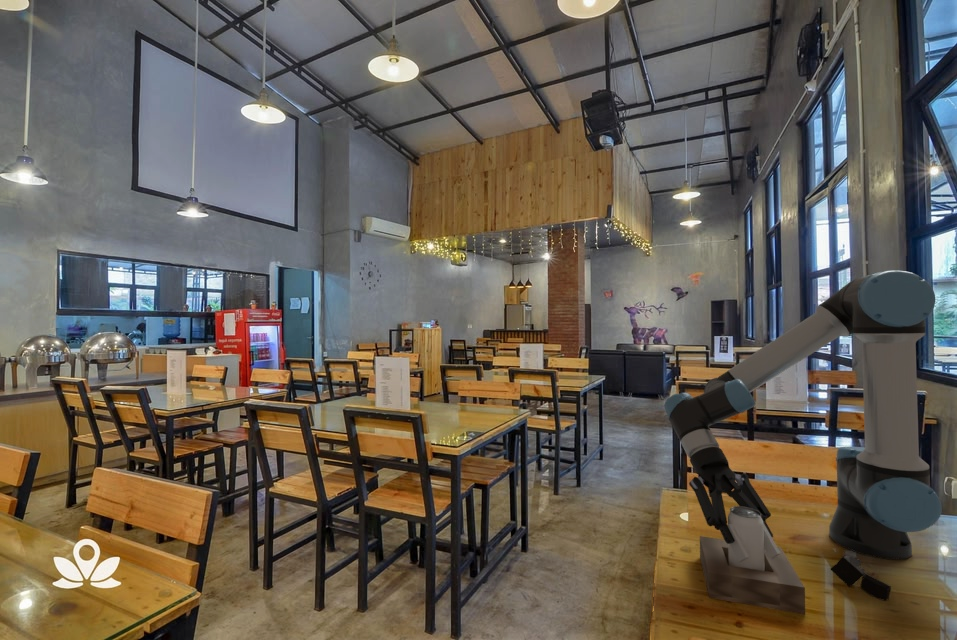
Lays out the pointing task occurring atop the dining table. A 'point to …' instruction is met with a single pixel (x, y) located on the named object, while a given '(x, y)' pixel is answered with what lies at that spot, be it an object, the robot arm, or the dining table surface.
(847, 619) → the dining table surface
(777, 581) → the socket block
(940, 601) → the dining table surface
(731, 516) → the can
